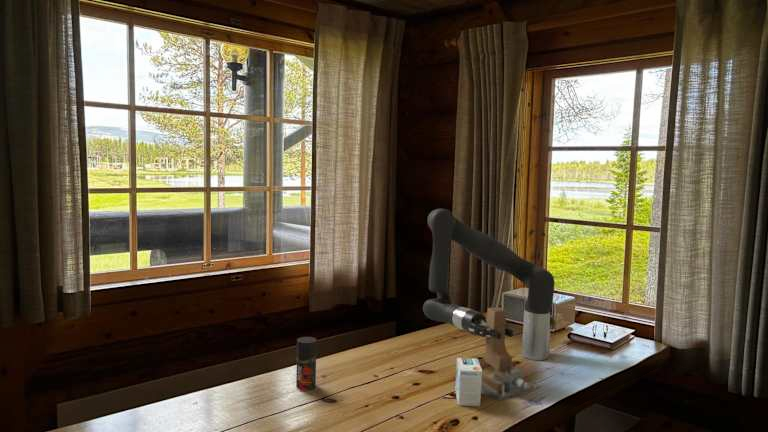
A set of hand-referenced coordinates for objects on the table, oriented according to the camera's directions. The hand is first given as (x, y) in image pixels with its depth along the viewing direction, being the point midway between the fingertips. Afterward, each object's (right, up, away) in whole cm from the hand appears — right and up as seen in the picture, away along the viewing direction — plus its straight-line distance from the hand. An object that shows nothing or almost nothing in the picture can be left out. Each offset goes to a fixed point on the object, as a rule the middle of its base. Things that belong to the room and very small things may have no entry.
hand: (506, 334), depth 173 cm
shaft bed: (-1, -17, +3) cm, 17 cm away
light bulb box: (-13, -18, -6) cm, 23 cm away
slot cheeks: (-2, -16, +4) cm, 17 cm away
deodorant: (-63, -16, -2) cm, 65 cm away
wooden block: (-2, -11, +3) cm, 12 cm away
